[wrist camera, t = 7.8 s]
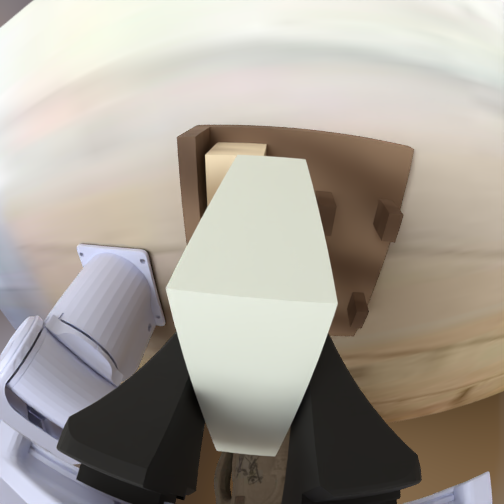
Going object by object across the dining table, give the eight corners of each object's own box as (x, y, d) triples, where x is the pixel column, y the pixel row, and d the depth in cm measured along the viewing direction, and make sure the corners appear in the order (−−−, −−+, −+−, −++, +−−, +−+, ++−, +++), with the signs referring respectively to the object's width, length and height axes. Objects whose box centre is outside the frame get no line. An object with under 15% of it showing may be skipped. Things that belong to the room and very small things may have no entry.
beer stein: (282, 348, 28) (267, 537, 12) (343, 378, 31) (348, 528, 15) (208, 389, 36) (181, 517, 20) (266, 412, 39) (253, 526, 23)
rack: (352, 330, 26) (358, 361, 23) (211, 319, 27) (203, 350, 24) (409, 146, 15) (434, 163, 12) (197, 125, 16) (176, 137, 13)
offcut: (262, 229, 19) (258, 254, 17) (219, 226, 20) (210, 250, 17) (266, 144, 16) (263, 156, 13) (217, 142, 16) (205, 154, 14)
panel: (282, 332, 16) (275, 456, 10) (238, 328, 16) (216, 450, 10) (305, 159, 10) (337, 304, 4) (237, 154, 10) (165, 287, 4)
